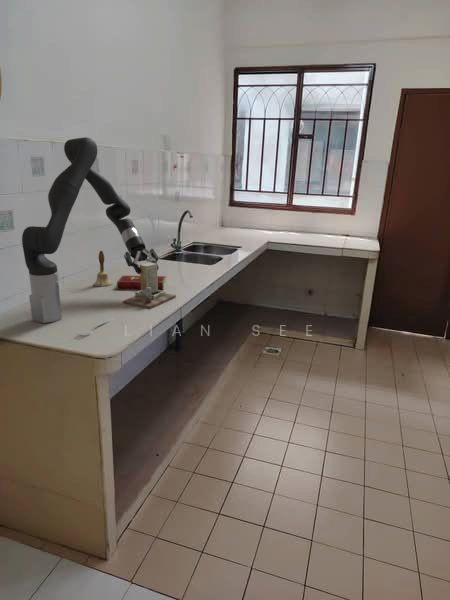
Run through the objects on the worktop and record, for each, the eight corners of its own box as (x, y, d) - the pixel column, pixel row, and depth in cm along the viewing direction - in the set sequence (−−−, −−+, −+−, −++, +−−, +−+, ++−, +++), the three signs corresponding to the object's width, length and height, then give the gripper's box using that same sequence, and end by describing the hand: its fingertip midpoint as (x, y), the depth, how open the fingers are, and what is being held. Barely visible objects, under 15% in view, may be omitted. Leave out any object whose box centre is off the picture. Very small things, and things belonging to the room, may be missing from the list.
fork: (122, 316, 159) (122, 312, 158) (82, 340, 137) (82, 334, 136) (114, 315, 160) (114, 311, 159) (74, 338, 138) (73, 333, 137)
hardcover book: (163, 290, 193) (163, 282, 192) (117, 290, 193) (116, 281, 192) (166, 284, 205) (166, 275, 203) (122, 283, 204) (122, 274, 203)
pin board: (150, 308, 167) (150, 291, 165) (122, 303, 173) (122, 286, 171) (175, 297, 183) (175, 281, 181) (149, 292, 189) (148, 277, 187)
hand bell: (101, 281, 205) (98, 248, 200) (115, 283, 202) (113, 250, 198) (90, 285, 198) (87, 251, 193) (104, 287, 195) (102, 253, 190)
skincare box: (151, 289, 184) (151, 262, 181) (158, 291, 182) (157, 263, 178) (140, 292, 180) (139, 264, 176) (146, 294, 177) (145, 265, 173)
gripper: (121, 237, 176) (137, 268, 171) (150, 234, 185) (166, 264, 181) (115, 247, 181) (130, 279, 176) (144, 244, 190) (159, 274, 186)
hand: (148, 271), depth 179 cm, fingers open, 8 cm apart
